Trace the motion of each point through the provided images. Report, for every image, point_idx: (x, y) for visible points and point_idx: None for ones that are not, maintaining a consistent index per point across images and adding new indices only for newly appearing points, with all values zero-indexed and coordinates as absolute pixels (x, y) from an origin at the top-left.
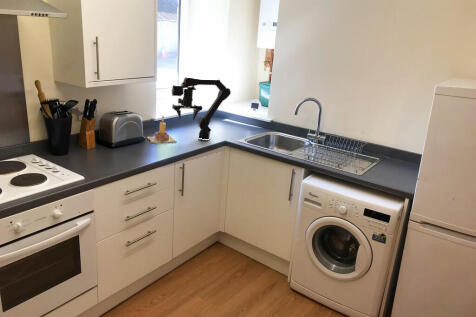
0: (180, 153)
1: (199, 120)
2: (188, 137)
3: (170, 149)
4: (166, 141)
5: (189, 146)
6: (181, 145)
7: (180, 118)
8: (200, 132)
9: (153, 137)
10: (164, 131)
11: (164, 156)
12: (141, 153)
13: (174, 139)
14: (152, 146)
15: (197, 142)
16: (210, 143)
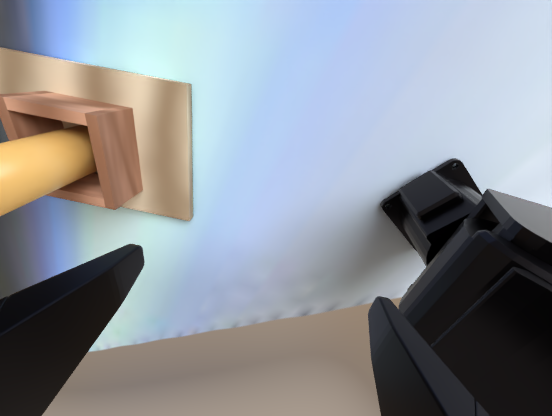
0: (171, 333)
1: (477, 337)
2: (348, 111)
3: (139, 289)
4: (125, 204)
5: (245, 284)
6: (209, 260)
7: (123, 298)
8: (421, 230)
9: (32, 81)
10: (58, 188)
11: (106, 335)
12: (18, 289)
13: (188, 178)
14: (53, 229)
15: (333, 244)
16: (401, 282)
